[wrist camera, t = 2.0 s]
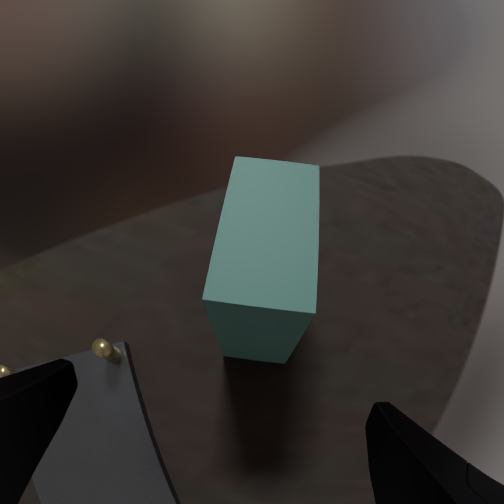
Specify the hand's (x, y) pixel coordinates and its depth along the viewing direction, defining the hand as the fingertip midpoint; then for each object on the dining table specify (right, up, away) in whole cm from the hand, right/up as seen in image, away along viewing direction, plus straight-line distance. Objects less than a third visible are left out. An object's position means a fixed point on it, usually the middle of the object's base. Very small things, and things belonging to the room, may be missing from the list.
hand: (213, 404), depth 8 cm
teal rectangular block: (+2, 0, +16) cm, 16 cm away
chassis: (-11, -11, +9) cm, 18 cm away
